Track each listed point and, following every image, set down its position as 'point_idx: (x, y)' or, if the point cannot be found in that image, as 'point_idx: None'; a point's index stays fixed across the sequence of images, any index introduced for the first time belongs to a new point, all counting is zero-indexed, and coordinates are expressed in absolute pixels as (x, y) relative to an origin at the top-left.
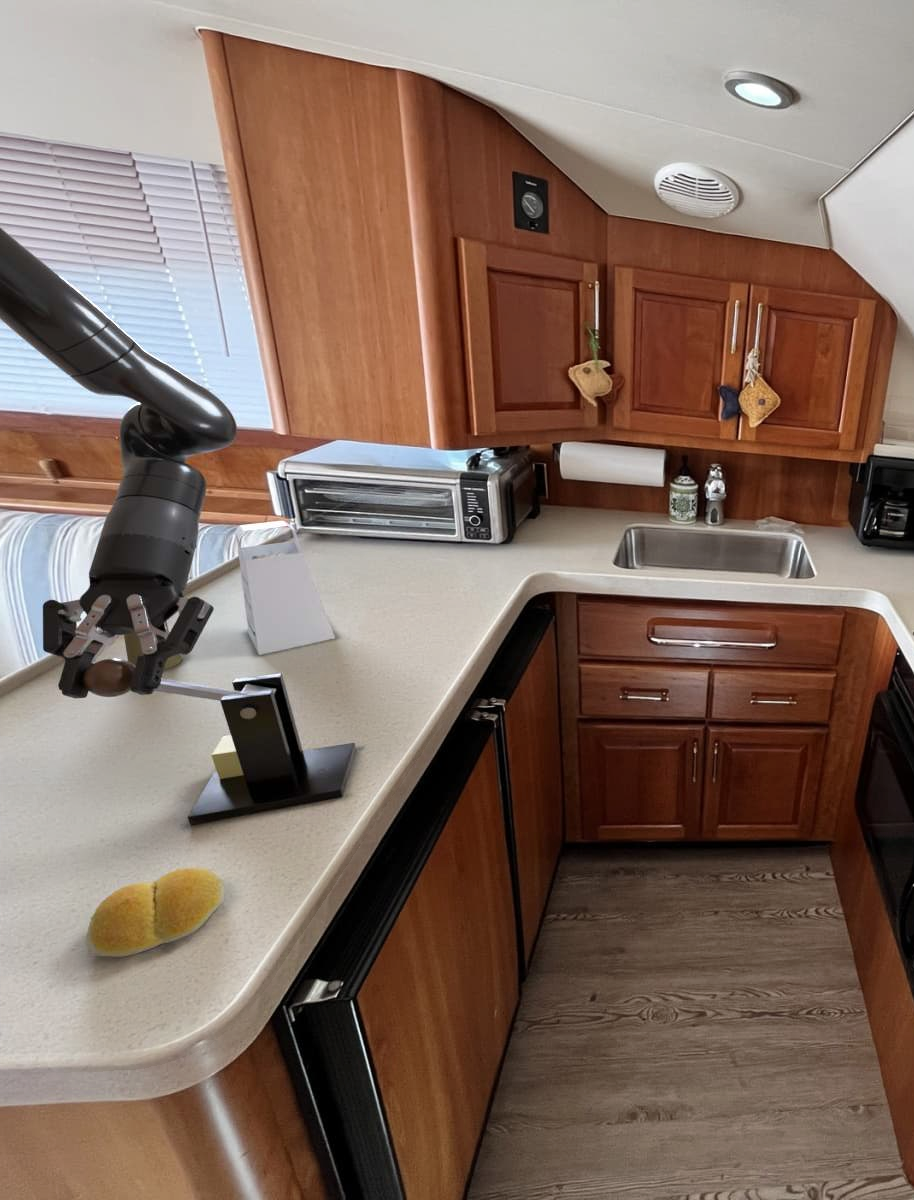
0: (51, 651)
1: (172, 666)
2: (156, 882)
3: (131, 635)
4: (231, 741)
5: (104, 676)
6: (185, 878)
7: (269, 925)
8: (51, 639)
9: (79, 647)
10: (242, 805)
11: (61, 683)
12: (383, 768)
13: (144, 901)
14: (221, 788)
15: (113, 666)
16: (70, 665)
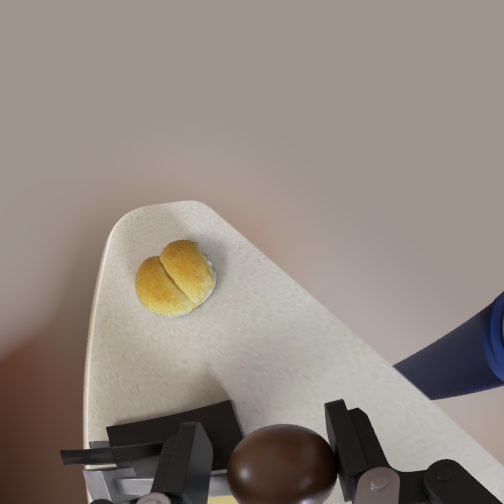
0: (431, 465)
1: None
2: (175, 286)
3: None
4: (228, 501)
5: (254, 438)
6: (147, 281)
7: (110, 279)
8: (457, 491)
9: (361, 501)
10: (183, 415)
11: (361, 418)
12: (98, 467)
13: (165, 260)
14: (227, 449)
15: (247, 470)
16: (358, 451)
